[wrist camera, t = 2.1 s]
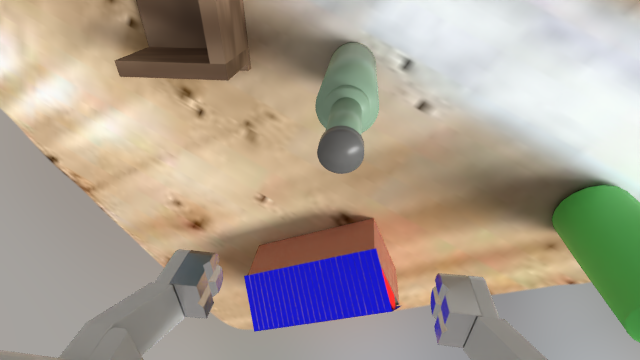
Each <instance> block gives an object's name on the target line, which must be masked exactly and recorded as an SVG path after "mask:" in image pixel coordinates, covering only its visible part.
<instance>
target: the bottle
mask: <svg viewBox="0 0 640 360" xmlns="http://www.w3.org/2000/svg"><path fill="white" fill-rule="evenodd" d="M552 222H553V227H554V229H555V230H556V231H557V233H558V234H559V236H560V237H561V239H562V240H563V242H564V243H565V245H566V246H567V247H568V249H569V250H570V252H571V253H572V255H573V256H574V258H575V259H576V261H577V262H578V263H579V265H580V266H581V268H582V269H583V271H584V272H585V273H586V275H587V276H588V278H589V279H590V280H591V282H592V283H593V285H594V286H595V287H596V289H597V290H598V291H599V293H600V294H601V296H602V297H603V299H604V300H605V301H606V303H607V304H608V306H609V307H610V308H611V310H612V311H613V313H614V314H615V315H616V317H617V318H618V320H619V321H620V322H621V324H622V325H623V327H624V328H625V329H626V331H627V333H628V334H629V335H630V336H631V337H632V338H633V339H634V340H636V341H638V342H640V202H638V201H637V200H636V199H635V198H634V197H633V196H632V195H630V194H629V193H628V192H627V191H625V190H623V189H621V188H619V187H617V186H607V185H600V186H594V187H588V188H585V189H583V190H580V191H578V192H575V193H573V194H572V195H570V196H569V197H567V198H566V199H564V200H563V201H562V202H561V203H560V204H559V206H558V207H557V208H556V209H555V211H554V214H553V217H552Z"/></svg>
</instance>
